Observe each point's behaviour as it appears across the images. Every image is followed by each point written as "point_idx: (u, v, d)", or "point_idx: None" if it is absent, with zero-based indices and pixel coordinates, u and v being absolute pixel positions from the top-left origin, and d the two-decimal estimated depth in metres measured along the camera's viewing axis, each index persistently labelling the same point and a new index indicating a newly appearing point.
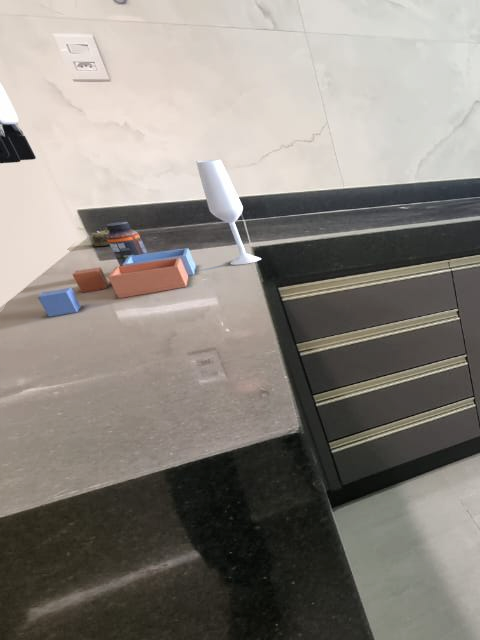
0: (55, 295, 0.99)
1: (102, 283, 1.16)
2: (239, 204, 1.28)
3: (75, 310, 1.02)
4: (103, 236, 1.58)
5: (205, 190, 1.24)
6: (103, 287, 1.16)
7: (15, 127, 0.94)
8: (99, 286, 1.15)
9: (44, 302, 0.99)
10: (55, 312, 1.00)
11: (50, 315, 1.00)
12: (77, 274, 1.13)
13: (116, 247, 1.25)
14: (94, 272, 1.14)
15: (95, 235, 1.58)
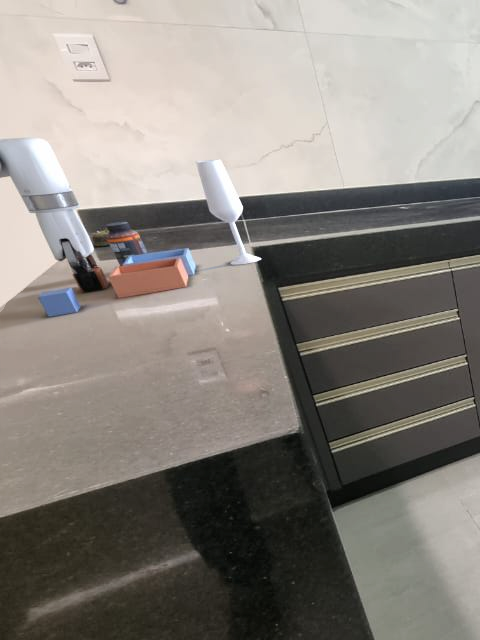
0: (55, 295, 0.99)
1: (102, 283, 1.16)
2: (239, 204, 1.28)
3: (75, 310, 1.02)
4: (103, 236, 1.58)
5: (205, 190, 1.24)
6: (103, 287, 1.16)
7: (90, 258, 1.16)
8: None
9: (44, 302, 0.99)
10: (55, 312, 1.00)
11: (50, 315, 1.00)
12: None
13: (116, 247, 1.25)
14: None
15: (95, 235, 1.58)
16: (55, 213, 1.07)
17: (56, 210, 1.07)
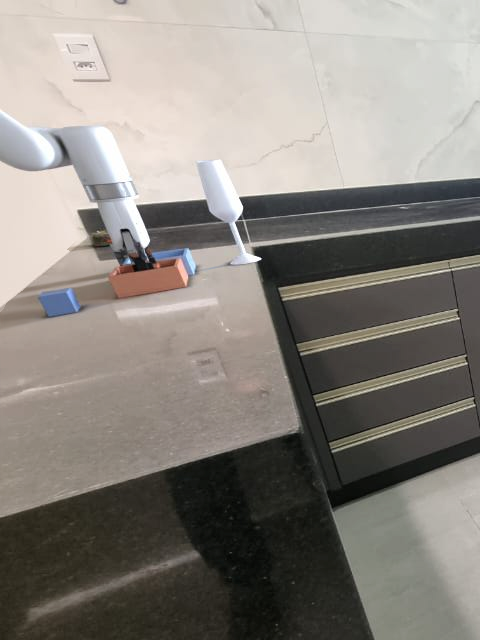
0: (55, 295, 0.99)
1: None
2: (239, 204, 1.28)
3: (75, 310, 1.02)
4: (103, 236, 1.58)
5: (205, 190, 1.24)
6: None
7: (147, 249, 1.15)
8: None
9: (44, 302, 0.99)
10: (55, 312, 1.00)
11: (50, 315, 1.00)
12: None
13: None
14: (154, 268, 1.13)
15: (95, 235, 1.58)
16: (117, 202, 1.05)
17: (117, 200, 1.05)
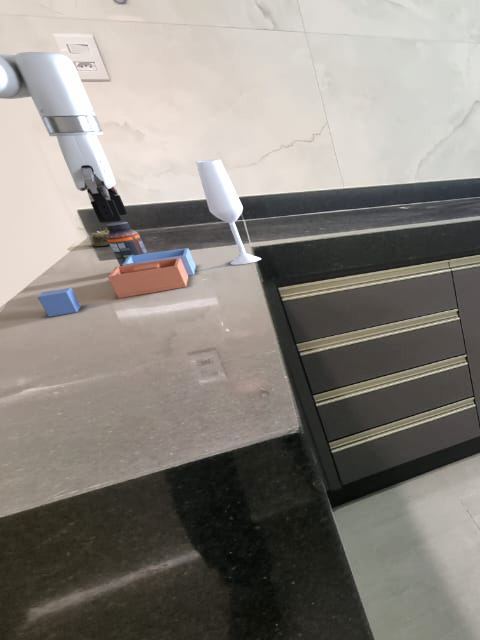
0: (55, 295, 0.99)
1: None
2: (239, 204, 1.28)
3: (75, 310, 1.02)
4: (103, 236, 1.58)
5: (205, 190, 1.24)
6: None
7: (112, 188, 1.09)
8: None
9: (44, 302, 0.99)
10: (55, 312, 1.00)
11: (50, 315, 1.00)
12: (137, 270, 1.12)
13: (116, 247, 1.25)
14: (154, 268, 1.13)
15: (95, 235, 1.58)
16: (78, 136, 0.99)
17: (79, 134, 0.99)
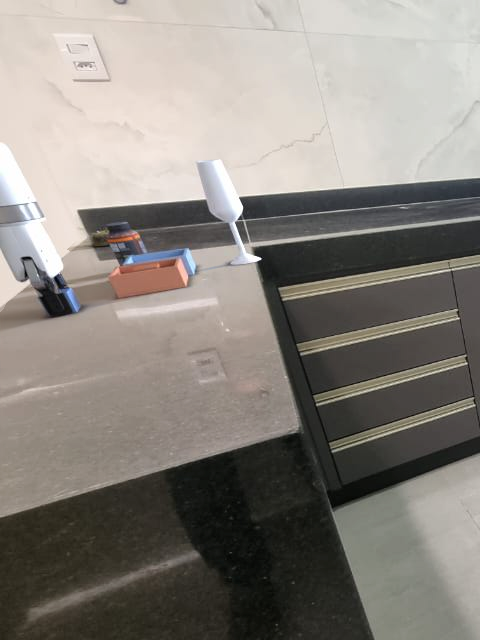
0: None
1: None
2: (239, 204, 1.28)
3: (75, 310, 1.02)
4: (103, 236, 1.58)
5: (205, 190, 1.24)
6: None
7: (59, 277, 1.02)
8: None
9: None
10: None
11: None
12: (137, 270, 1.12)
13: (116, 247, 1.25)
14: (154, 268, 1.13)
15: (95, 235, 1.58)
16: (15, 227, 0.92)
17: (16, 224, 0.92)
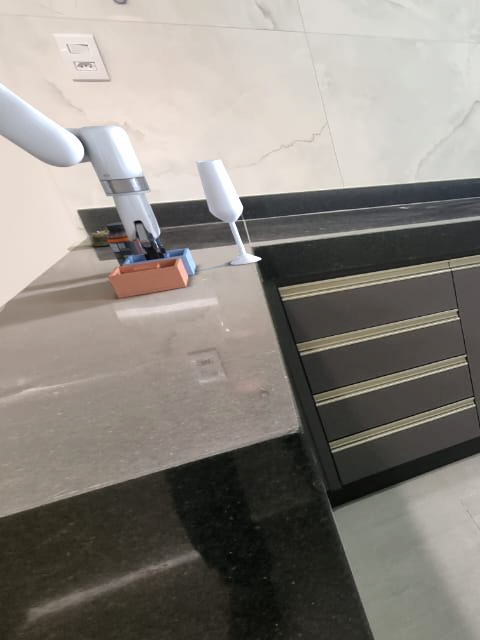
0: None
1: None
2: (239, 204, 1.28)
3: None
4: (103, 236, 1.58)
5: (205, 190, 1.24)
6: None
7: (158, 240, 1.24)
8: None
9: None
10: None
11: None
12: (137, 270, 1.12)
13: (116, 247, 1.25)
14: (154, 268, 1.13)
15: (95, 235, 1.58)
16: (131, 196, 1.14)
17: (131, 194, 1.14)
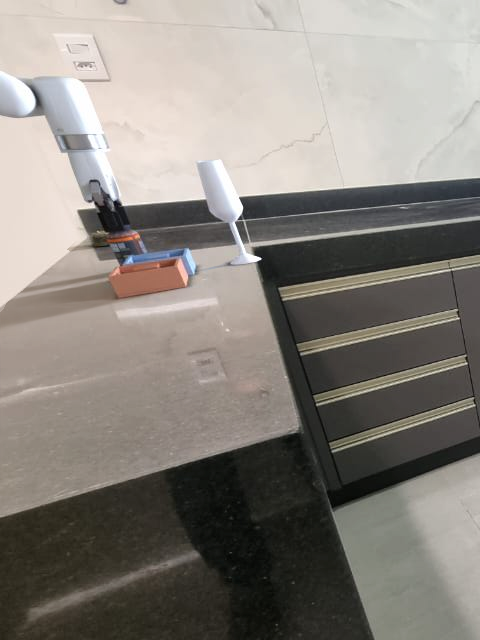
0: (158, 258, 1.21)
1: None
2: (239, 204, 1.28)
3: None
4: (103, 236, 1.58)
5: (205, 190, 1.24)
6: None
7: (117, 200, 1.17)
8: None
9: None
10: None
11: None
12: (137, 270, 1.12)
13: (116, 247, 1.25)
14: (154, 268, 1.13)
15: (95, 235, 1.58)
16: (87, 153, 1.07)
17: (88, 151, 1.07)
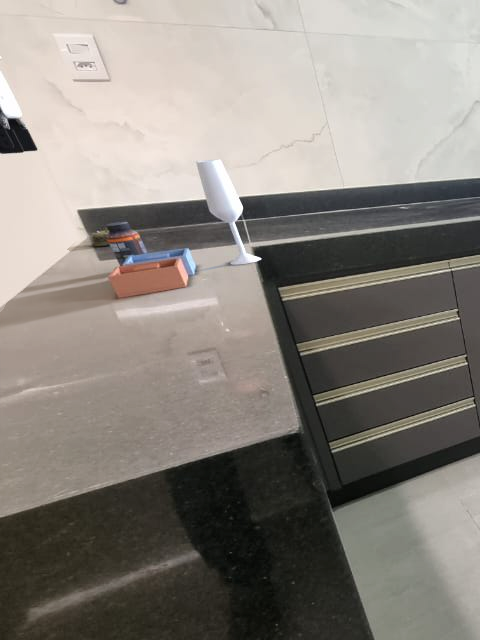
0: (158, 258, 1.21)
1: None
2: (239, 204, 1.28)
3: None
4: (103, 236, 1.58)
5: (205, 190, 1.24)
6: None
7: (19, 121, 1.03)
8: None
9: None
10: None
11: None
12: (137, 270, 1.12)
13: (116, 247, 1.25)
14: (154, 268, 1.13)
15: (95, 235, 1.58)
16: None
17: None
